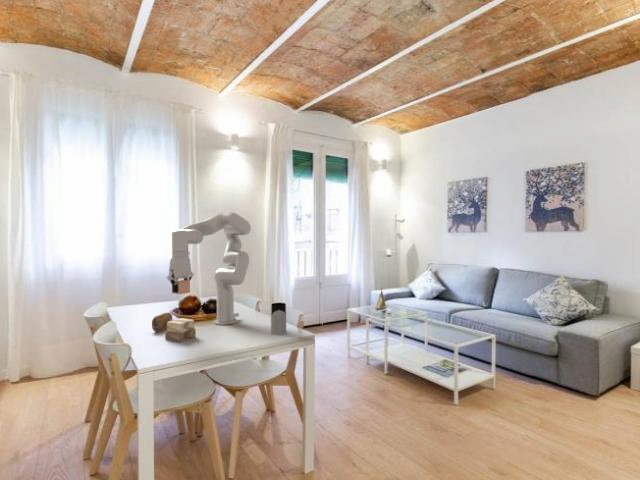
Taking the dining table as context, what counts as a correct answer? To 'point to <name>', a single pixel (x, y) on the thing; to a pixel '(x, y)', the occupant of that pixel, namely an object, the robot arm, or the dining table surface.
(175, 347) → the dining table surface
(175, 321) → the top block
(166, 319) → the brown rounded slab
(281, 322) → the glass holder
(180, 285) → the cube
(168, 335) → the base block
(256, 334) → the dining table surface
